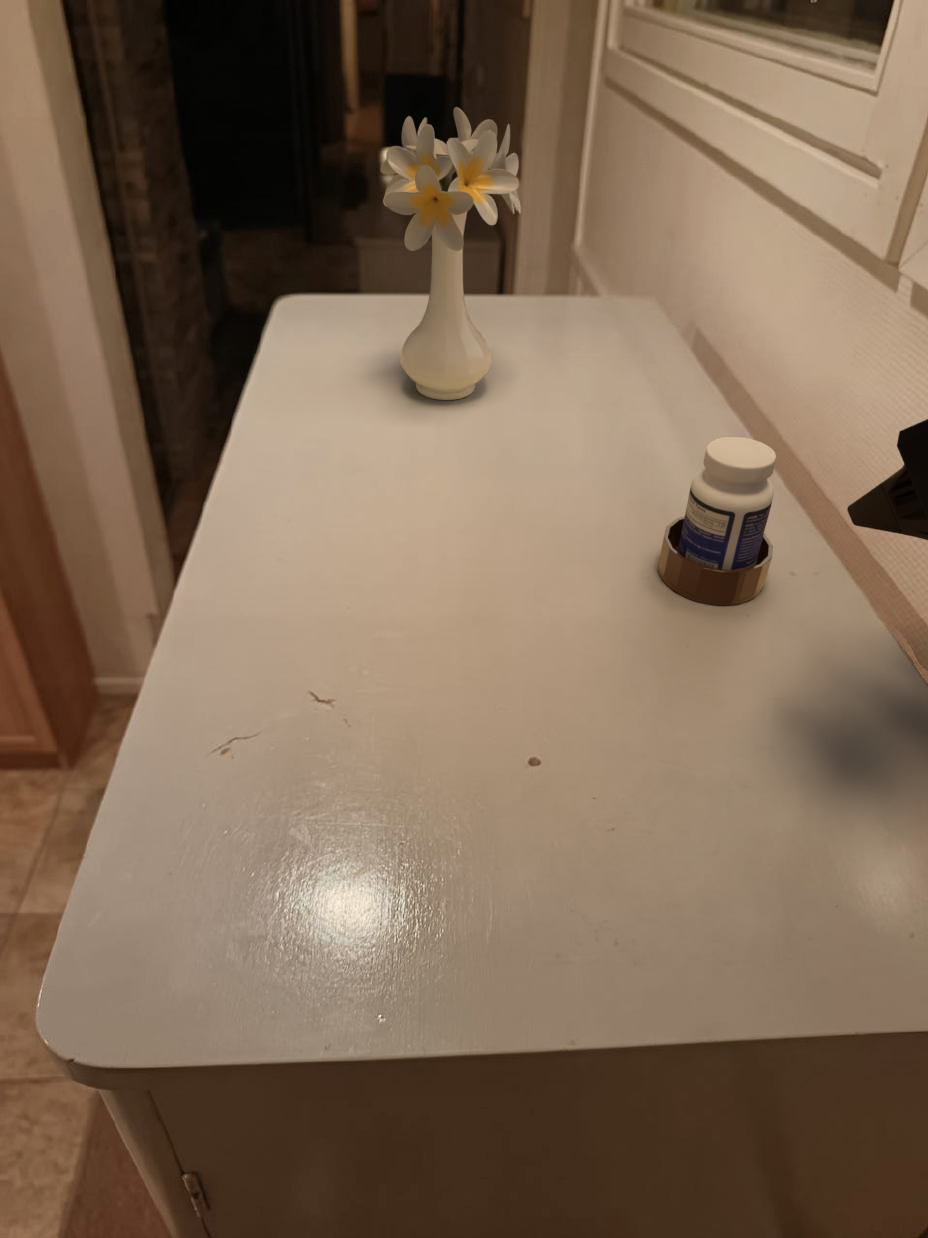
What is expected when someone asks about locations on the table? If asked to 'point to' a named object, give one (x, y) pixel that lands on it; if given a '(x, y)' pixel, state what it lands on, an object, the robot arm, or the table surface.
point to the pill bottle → (729, 505)
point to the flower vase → (447, 242)
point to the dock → (710, 573)
